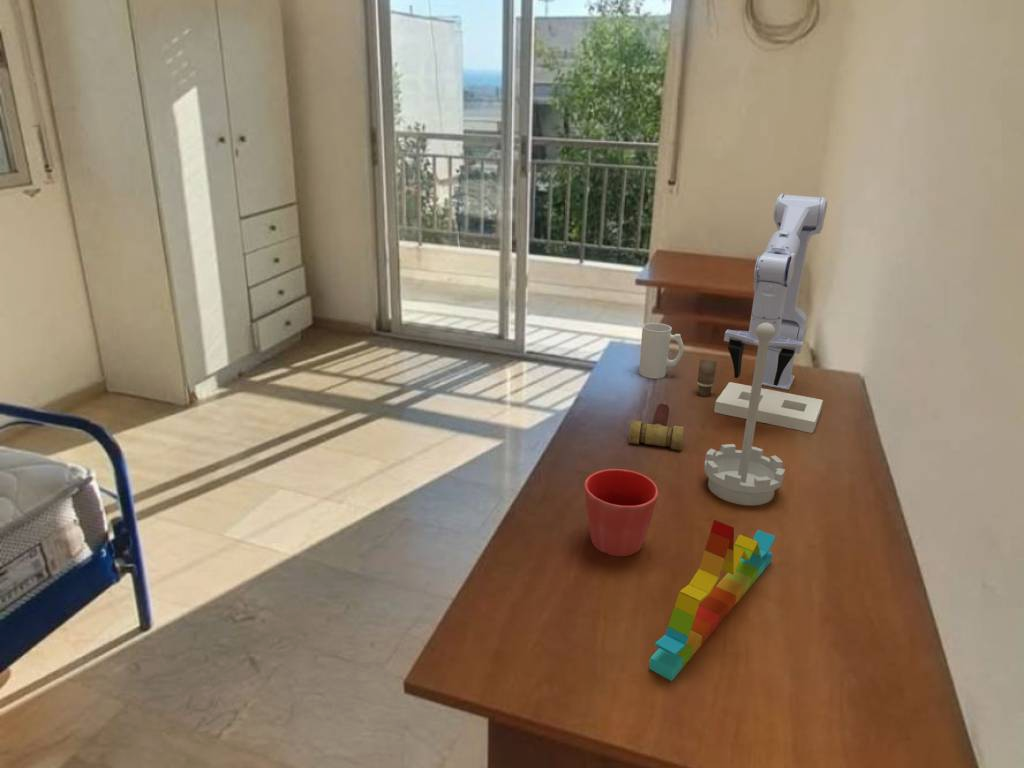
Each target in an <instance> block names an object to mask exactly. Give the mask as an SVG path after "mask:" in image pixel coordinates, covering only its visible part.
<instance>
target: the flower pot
mask: <svg viewBox="0 0 1024 768" xmlns="http://www.w3.org/2000/svg"><path fill="white" fill-rule="evenodd" d="M657 486H658V485H656V483H655V482H654V481H653V480H652V479H651V478H650V477H648V476H646V475H644V474H643V473H640V472H637V471H634V470H628V469H622V468H609V469H608V468H607V469H602V470H598V471H596V472H593V473H591V474H590V475H588V477H587V478H586V479H585V480H584V485H583V487H584V496H585V506H586V512H587V513H586V514H587V521H588V526H589V527H588V528H589V533H590V539H591V543H592V545H593V546H594V548H595V549H596V550H598V551H600V552H601V553H605V554H607V555H610V556H614V557H625V556H626V557H627V556H631V555H634V554H636V553H638V552H639V551H640V550H641V549H642V547H643V545H644V542H645V539H646V536H647V532H648V530H649V526H650V523H651V520H652V517H653V513H654V509H655V506H656V503H657V499H658V496H659V489H658V487H657Z"/></svg>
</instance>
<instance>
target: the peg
mask: <svg viewBox="0 0 1024 768" xmlns="http://www.w3.org/2000/svg"><path fill="white" fill-rule="evenodd" d="M717 363H718V361H717V360H716V359H713V358H707V357H706V358H705V357H704V358H701V359H700V360H699V365H698V375H697V382H696V383H697V385H698V391H697V395H698V396H701V397H710V396H711V394H712V392H711V391H712V387H713V386H714V385H715V377H716V376H715V375H716V369H717Z"/></svg>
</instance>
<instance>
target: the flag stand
mask: <svg viewBox="0 0 1024 768" xmlns="http://www.w3.org/2000/svg"><path fill="white" fill-rule="evenodd" d="M774 335H775V328H774V327H773V325H771V324H770V323H762V324H760V325H759V326H758V327H757V329H756V336H757V337H758V338H759V344H758V346H757V351H756V359H755V364H754V371H753V378H752V384H751V386H752V389H751V395H750V401H749V408H748V414H747V419H745V420H746V421H745V427H744V433H743V440H742V447H741V449H737V447H736V445H735V443H730V444H729V443H728V444H720V450H716V449H714V448H710V449H708V450H707V452H706V454H705V458H704V459H705V460H704V465H703V467H704V468H703V470H704V473H705V475H706V476H707V477H708V483H707V487H708V488H709V489H708V490H710V491H711V493H713V494H714V495H715V496H716V497H718V498H720V499H721V500H724V501H725V502H729V503H731V504H736V505H741V506H760V505H765V504H767V503H769V502H771V501H772V500H773V499H774V496H775V491H776V490H777V489H779V488H780V487H781V486H782V484H783V482H784V478H785V472H786V469H784V468H783V464H784V461H782V459H780V458H779V456H777V455H771V456H769V457H767V456H764V454H763V452H764V449H762V448H759V447H757V446H753V442H754V436H755V430H756V423H757V421H756V418H757V412H758V406H759V400H760V394H761V388H763V387H762V386H763V385H762V382H763V376H764V369H765V363H766V357H767V351H768V345H769V340H771V339H772V338H773V337H774Z"/></svg>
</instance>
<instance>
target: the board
mask: <svg viewBox="0 0 1024 768" xmlns="http://www.w3.org/2000/svg"><path fill="white" fill-rule="evenodd" d="M751 389H752V385H749V384H747V385H746V384H742V383H738V382H731V381H729V382H728V383H727V385H726V386H725V387H724V389H723V391H722V392H721V393H720V394H719V396H718V397H717V399H716V400H715V402H714V410H713V411H714V413H717V414H721V415H725V416H730V417H736V418H741V419H744V420H747V414H748V408H749V401H750V395H751ZM823 402H824V400H823V399H820V398H815V397H809V396H804V395H798V394H794V393H788V392H784V391H783V392H782V391H778V390H773V389H768V388H763V387H762V388H761V394H760V400H759V406H758V412H757V418H756V422H757V423H764V424H768V425H773V426H777V427H783V428H787V429H791V430H796V431H800V432H804V433H809V434H813V433H814V431H815V429H816V426H817V423H818V420H819V416H820V413H821V412H822V407H823Z"/></svg>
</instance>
